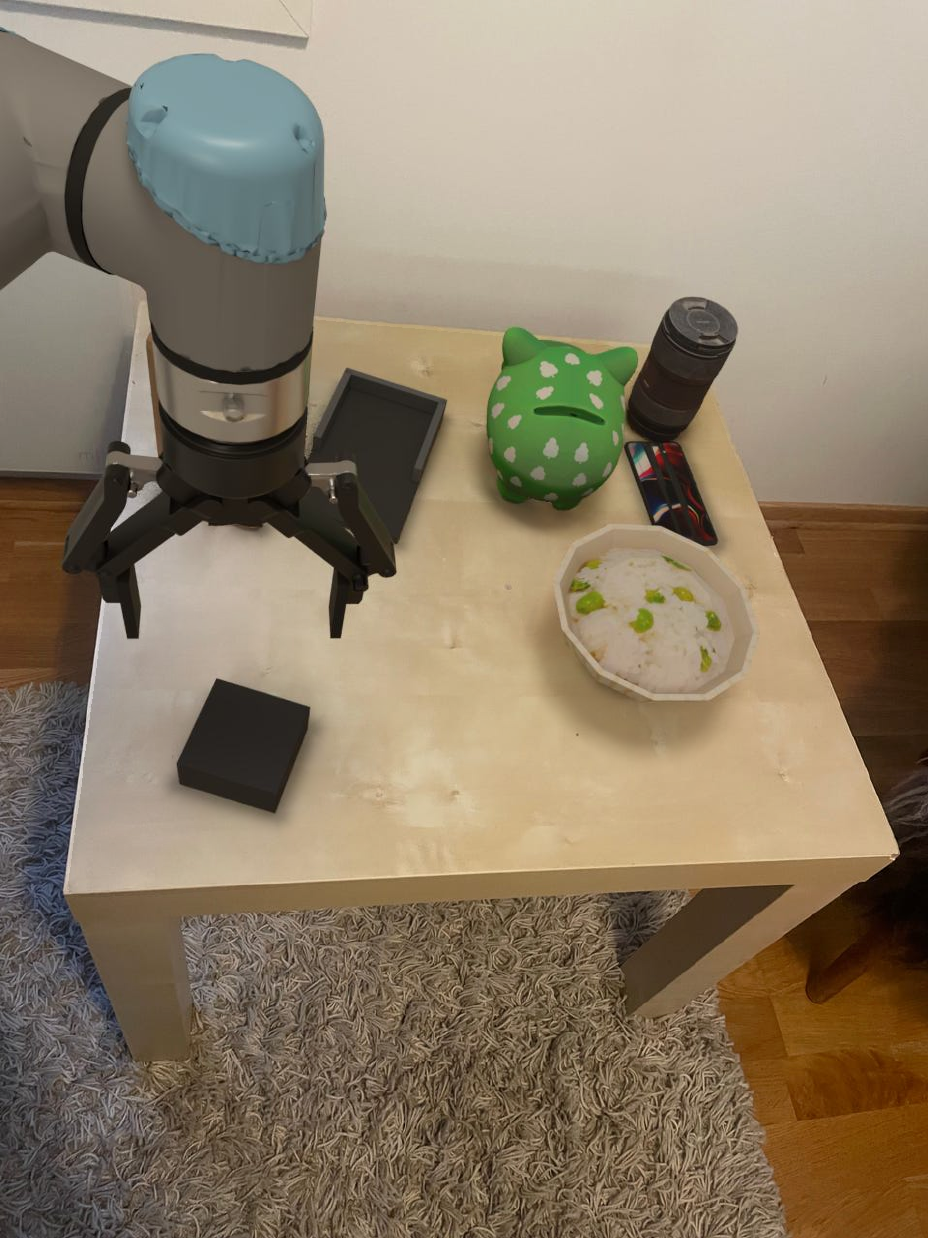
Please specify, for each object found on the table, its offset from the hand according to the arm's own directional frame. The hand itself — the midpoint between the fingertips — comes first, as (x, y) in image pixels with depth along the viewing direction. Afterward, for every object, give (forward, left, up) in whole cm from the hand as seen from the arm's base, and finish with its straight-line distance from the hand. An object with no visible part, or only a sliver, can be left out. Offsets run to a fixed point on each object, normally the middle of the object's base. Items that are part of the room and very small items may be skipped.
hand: (236, 622), depth 65 cm
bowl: (+32, +19, -16) cm, 40 cm away
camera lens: (+31, +53, -16) cm, 63 cm away
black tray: (+2, +33, -16) cm, 37 cm away
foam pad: (+2, -2, -16) cm, 16 cm away
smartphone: (+34, +42, -16) cm, 57 cm away
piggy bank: (+19, +40, -16) cm, 47 cm away
